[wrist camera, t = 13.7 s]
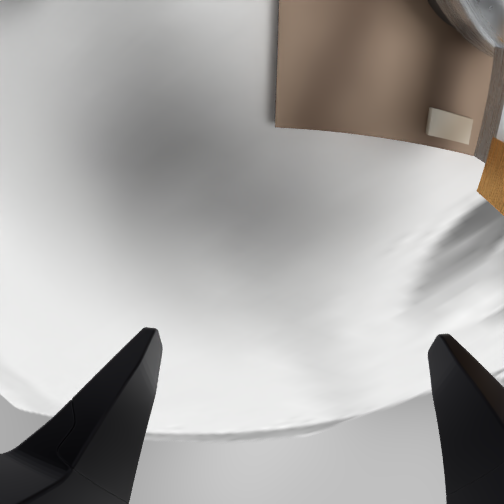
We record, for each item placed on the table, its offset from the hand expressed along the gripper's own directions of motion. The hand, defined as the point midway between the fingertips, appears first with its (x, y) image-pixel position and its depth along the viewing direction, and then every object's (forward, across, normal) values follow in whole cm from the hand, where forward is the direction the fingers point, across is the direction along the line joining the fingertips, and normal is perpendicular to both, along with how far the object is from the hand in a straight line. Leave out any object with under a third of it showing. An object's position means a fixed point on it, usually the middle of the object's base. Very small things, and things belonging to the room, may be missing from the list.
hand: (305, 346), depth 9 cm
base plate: (+12, -9, -14) cm, 21 cm away
